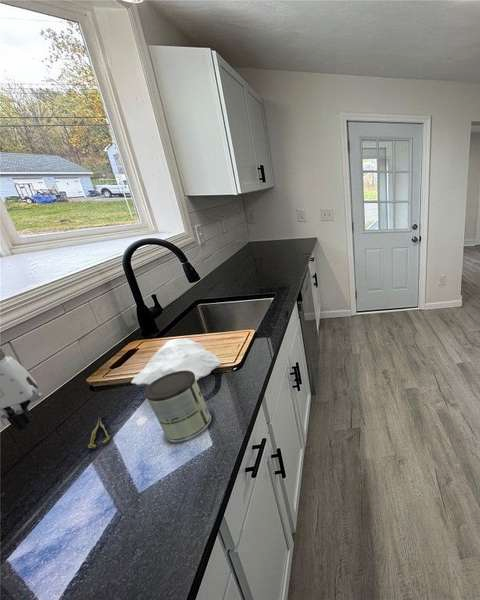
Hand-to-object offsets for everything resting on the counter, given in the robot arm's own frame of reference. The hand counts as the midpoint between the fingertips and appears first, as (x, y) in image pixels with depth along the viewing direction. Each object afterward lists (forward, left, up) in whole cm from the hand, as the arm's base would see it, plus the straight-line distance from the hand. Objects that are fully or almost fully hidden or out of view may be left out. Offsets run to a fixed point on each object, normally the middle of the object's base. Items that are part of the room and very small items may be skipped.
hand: (26, 425), depth 74 cm
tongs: (+10, 0, -9) cm, 14 cm away
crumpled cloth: (+27, +18, -9) cm, 34 cm away
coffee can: (+31, -11, -9) cm, 34 cm away
